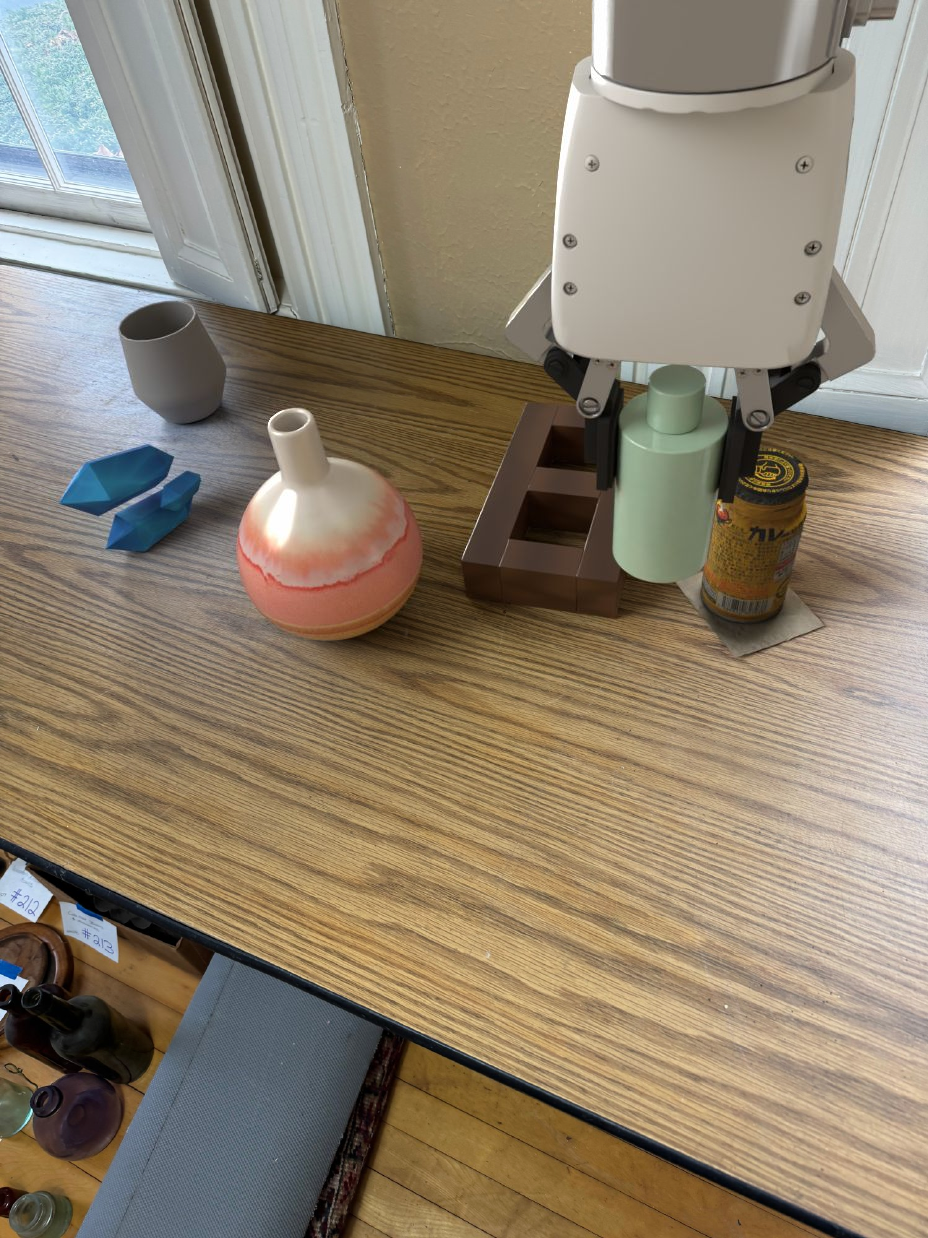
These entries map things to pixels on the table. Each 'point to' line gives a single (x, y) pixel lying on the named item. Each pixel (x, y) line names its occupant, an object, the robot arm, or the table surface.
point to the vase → (326, 540)
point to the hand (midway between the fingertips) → (667, 474)
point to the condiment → (756, 559)
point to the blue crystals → (133, 495)
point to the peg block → (545, 523)
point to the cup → (173, 361)
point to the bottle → (668, 476)
